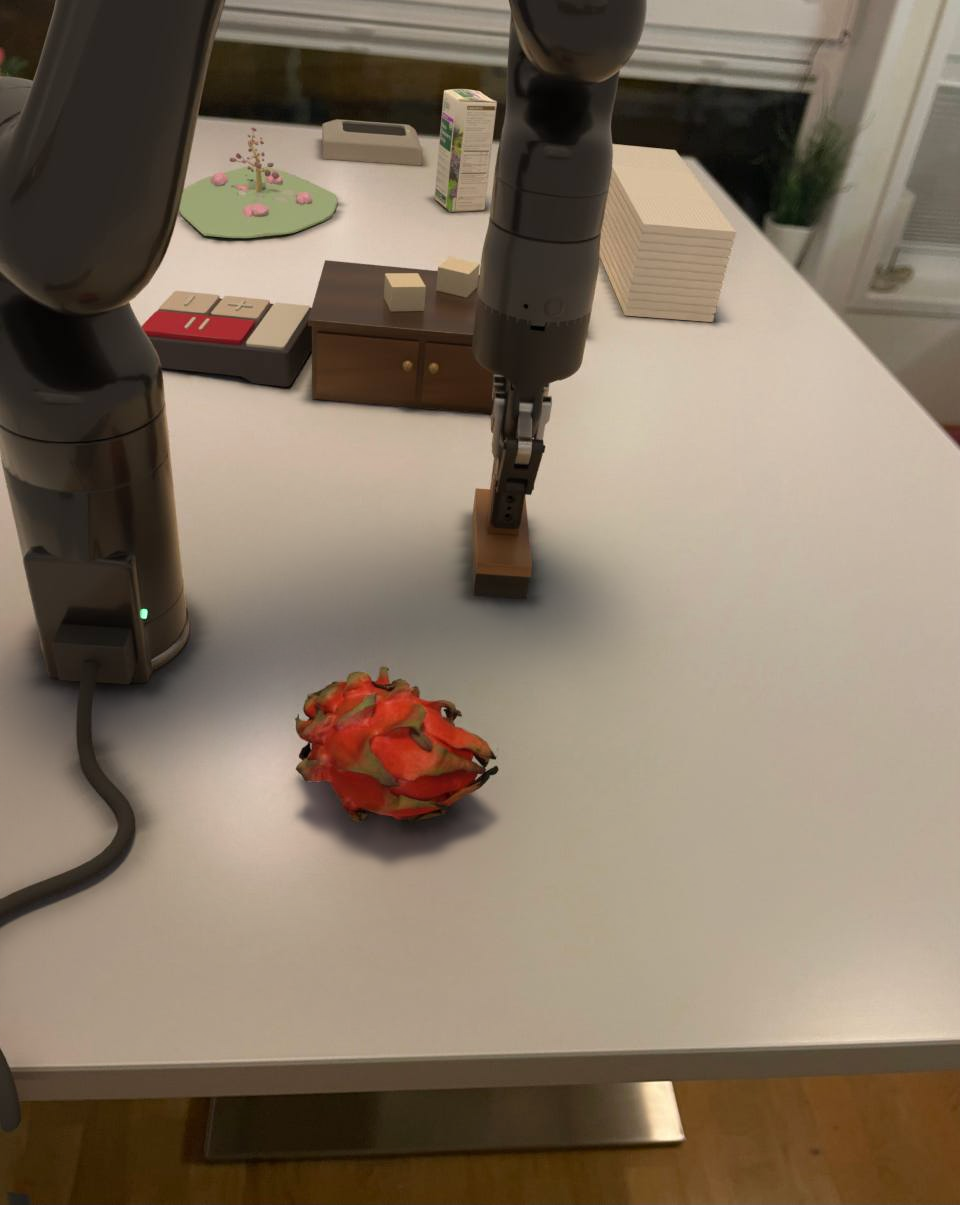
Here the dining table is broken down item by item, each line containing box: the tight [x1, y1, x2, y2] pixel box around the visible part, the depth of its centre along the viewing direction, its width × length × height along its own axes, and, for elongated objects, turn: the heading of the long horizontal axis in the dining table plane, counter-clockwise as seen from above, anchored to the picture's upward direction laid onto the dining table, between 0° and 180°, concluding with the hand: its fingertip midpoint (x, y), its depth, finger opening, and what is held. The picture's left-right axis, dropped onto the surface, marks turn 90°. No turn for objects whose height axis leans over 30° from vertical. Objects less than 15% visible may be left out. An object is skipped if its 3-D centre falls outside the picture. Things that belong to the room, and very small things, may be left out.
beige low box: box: [321, 118, 423, 166], centre depth 158 cm, size 10×4×15 cm
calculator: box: [141, 290, 312, 387], centre depth 100 cm, size 11×4×15 cm
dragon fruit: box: [294, 665, 500, 823], centre depth 58 cm, size 8×8×12 cm
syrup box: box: [434, 88, 498, 213], centre depth 140 cm, size 6×6×14 cm
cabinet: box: [308, 259, 496, 415], centre depth 99 cm, size 15×21×8 cm
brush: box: [471, 457, 533, 600], centre depth 76 cm, size 10×4×9 cm, turn 1°
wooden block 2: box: [436, 256, 481, 298], centre depth 99 cm, size 3×3×2 cm
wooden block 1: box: [384, 273, 426, 312], centre depth 94 cm, size 3×3×2 cm
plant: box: [179, 127, 338, 239], centre depth 132 cm, size 25×21×9 cm
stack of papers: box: [599, 143, 737, 323], centre depth 129 cm, size 32×11×11 cm, turn 4°
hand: (504, 513), depth 76 cm, fingers closed on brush, 2 cm apart
